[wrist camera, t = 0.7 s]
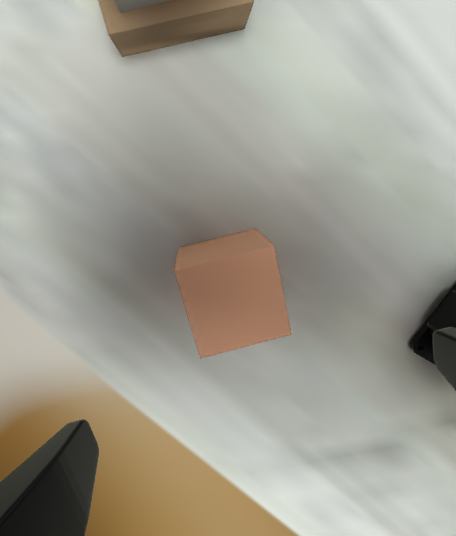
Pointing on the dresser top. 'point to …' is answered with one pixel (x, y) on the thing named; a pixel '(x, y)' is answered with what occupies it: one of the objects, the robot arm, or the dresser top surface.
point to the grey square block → (135, 4)
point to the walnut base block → (172, 22)
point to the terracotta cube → (232, 292)
